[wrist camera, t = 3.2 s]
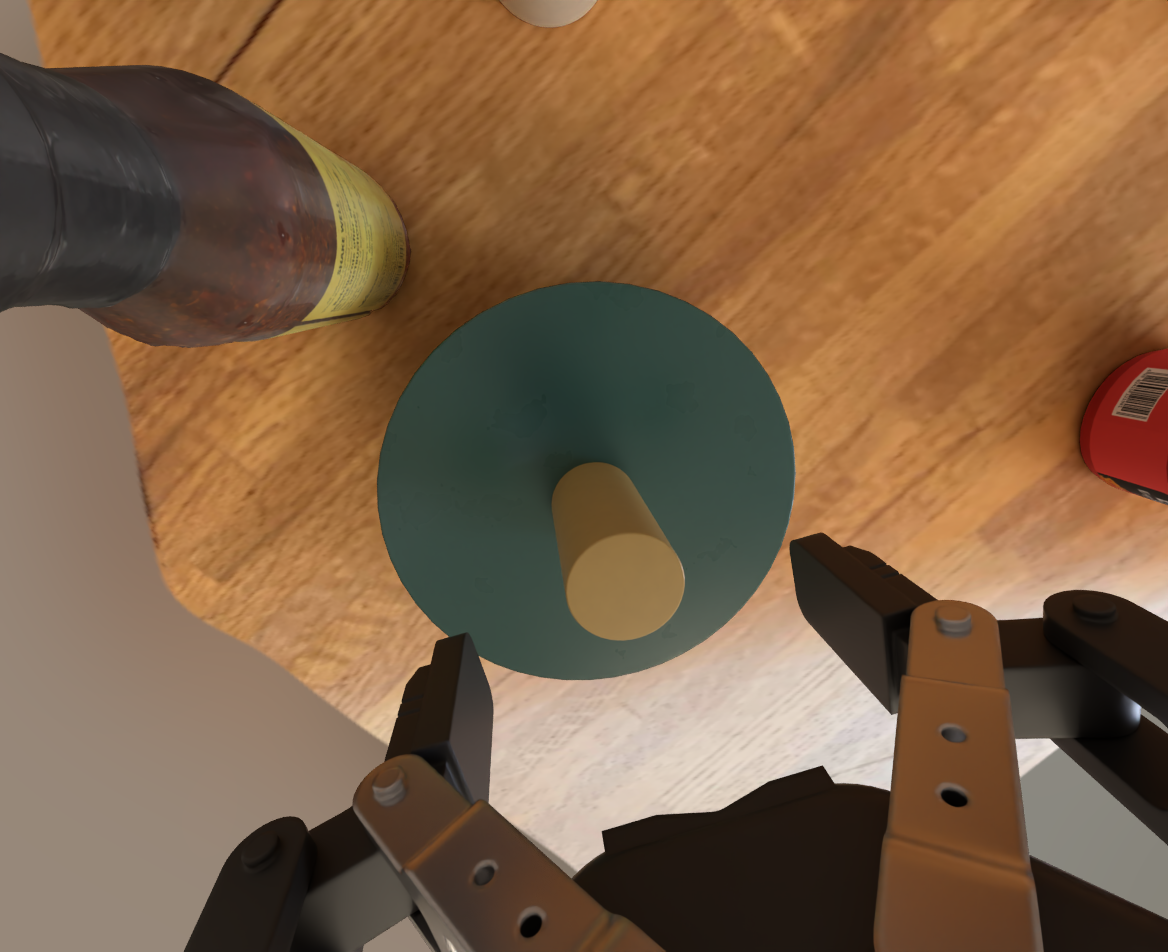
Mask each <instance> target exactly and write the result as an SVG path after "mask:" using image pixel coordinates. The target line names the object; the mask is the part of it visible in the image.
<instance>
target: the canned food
mask: <svg viewBox="0 0 1168 952" xmlns="http://www.w3.org/2000/svg"><path fill="white" fill-rule="evenodd" d="M1080 446H1081V453H1082V456H1083V459H1084V461H1085V463H1086V465H1087V466H1088V468H1089V469H1090V471H1091V472H1093V473H1094V474H1095V475H1096V476H1098V477H1099V478H1100V479H1102V480H1103V481H1105V482H1106V483H1107V484H1109V485H1111V486H1113V487H1115V488H1118V489H1120V490H1123V491H1126V492H1129V493H1132V494H1136V495H1139V496H1142V497H1145V498H1148V499H1151V500H1154V501H1157V502H1160V503H1163V504H1166V505H1168V348H1167V349H1162V350H1157V351H1152V352H1148V353H1145V354H1141V355H1139V356H1137V357H1135V358H1133V359H1130V360H1128V361H1127V362H1126V363H1124V364H1123V365H1121V366H1120V367H1118V368H1117V369H1116V370H1115V371H1114V372H1113V373H1112V374H1111V375H1110V376H1108V377H1107V378H1106V379H1105V381H1104V382H1103V383H1102V384H1101V386H1100V387H1099V388H1098V389H1097V391H1096V393H1095V394H1094V396H1093V398H1092V399H1091V401H1090V403H1089V405H1088V407H1087V410H1086V412H1085V414H1084V418H1083V422H1082V426H1081V432H1080Z"/></svg>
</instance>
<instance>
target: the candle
mask: <svg viewBox="0 0 1168 952" xmlns="http://www.w3.org/2000/svg"><path fill="white" fill-rule="evenodd" d="M499 1H500V2H501V3H502V4H503V5H504V6H505V7H506V8H507V9H508V10H509V11H510V12H511V13H512V14H513V15H515V16H516V17H518V18H519V19H521V20H523V21H525V22H527V23H529V24H532V25H535V26H540V27H560V26H564V25H567V24H570V23H572V22H574V21H576V20H578V19H580V18H581V17H582V16H584V15H585V14H586V13H587V12H588V11H589V10H590V9H591V8H592V7H593V6H594V4H595V3H596V2H597V0H499Z"/></svg>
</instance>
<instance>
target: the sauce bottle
mask: <svg viewBox="0 0 1168 952" xmlns="http://www.w3.org/2000/svg"><path fill="white" fill-rule="evenodd" d="M410 254H411V249H410V246H409V239H408V236H407V231H406V228H405V225H404V222H403V219H402V216H401V214H400V212H399V210H398V208H397V206H396V204H395V202H394V201H393V200H392V199H391V198H390V197H389V196H388V195H387V193H386V192H385V191H384V190H383V189H382V187H381V186H380V185H379V184H378V183H377V182H376V181H375V180H374V179H373V178H371V177H370V176H369V175H368V174H366V173H365V172H363V171H362V170H361V169H359V168H358V167H356V166H355V165H353V164H351V163H350V162H348V161H347V160H345V159H343V158H342V157H340V156H338V155H337V154H335V153H333V152H332V151H330V150H328V149H327V148H325V147H323V146H322V145H320V144H319V143H317V142H316V141H314V140H313V139H311V138H309V137H308V136H306V135H305V134H303V133H301V132H300V131H298V130H296V129H295V128H293V127H291V126H290V125H288V124H287V123H285V122H283V121H282V120H280V119H279V118H277V117H275V116H274V115H272V114H270V113H269V112H267V111H266V110H264V109H263V108H261V107H260V106H258V105H256V104H255V103H253V102H251V101H249V100H247V99H246V98H244V97H242V96H240V95H239V94H237V93H235V92H234V91H232V90H230V89H228V88H226V87H224V86H222V85H219V84H217V83H215V82H213V81H211V80H209V79H206V78H203V77H200V76H197V75H195V74H192V73H189V72H186V71H182V70H177V69H172V68H167V67H162V66H151V65H130V66H99V67H73V68H42V67H39V66H35V65H31V64H27V63H24V62H20V61H18V60H16V59H13V58H11V57H9V56H7V55H4V54H2V53H0V312H2V311H4V310H7V309H9V308H12V307H26V306H42V305H59V306H64V307H68V308H78V309H80V310H81V311H83V312H84V313H86V314H88V315H89V316H91V317H92V318H94V319H95V320H97V321H98V322H100V323H101V324H103V325H104V326H106V327H107V328H110V329H112V330H114V331H116V332H118V333H120V334H123V335H126V336H129V337H131V338H133V339H135V340H137V341H140V342H143V343H146V344H149V345H151V346H162V345H166V346H179V347H182V348H183V347H187V348H191V347H203V346H213V345H221V344H224V343H232V342H234V341H235V342H248V341H258V340H264V339H269V338H273V337H278V336H283V335H287V334H292V333H297V332H301V331H306V330H310V329H314V328H319V327H323V326H328V325H332V324H336V323H341V322H345V321H350V320H355V319H359V318H362V317H365V316H367V315H369V314H370V313H371V311H372V310H377V309H380V308H382V307H384V306H385V305H386V304H387V303H388V302H389V301H390V300H391V299H392V298H393V297H394V296H395V295H396V293H397V291H398V290H399V288H400V287H401V286H402V283H403V279H404V277H405V274H406V271H407V270H408V265H409V263H410Z"/></svg>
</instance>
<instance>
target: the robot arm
mask: <svg viewBox="0 0 1168 952" xmlns="http://www.w3.org/2000/svg"><path fill="white" fill-rule="evenodd" d="M790 556H791V563H792V569H793V576H794V583H795V590H796V596H797V600H798V604H799V607H800V609H801V611H802V613H803V615H804V617H805V619H806V620H807V621H808V623H809V624H810V625H811V626H812V627H813V628H814V629H815V630H816V631H817V633H818V634H819V635H820V636H821V637H822V638H823V639H824V640H825V641H826V643H827V644H828V645H829V646H830V647H831V648H832V649H833V650H834V651H835V653H836V654H837V655H838V656H839V657H840V658H841V659H842V660H843V661H844V663H845V664H846V665H847V666H848V667H849V668H850V669H851V670H852V671H853V673H854V674H855V675H856V676H857V677H858V678H859V679H860V680H861V681H862V683H863V684H864V685H865V686H866V687H867V688H868V689H869V690H870V691H871V693H872V694H873V695H874V696H875V697H876V698H877V699H878V700H879V701H880V703H881V704H882V705H883V706H884V707H885V708H886V709H887V710H888V711H889V713H890V714H891V715H892V714H896V713H898V716H897V727H896V737H895V748H894V759H893V770H892V781H891V791H888V790H884V789H880V788H876V787H872V786H866V785H859V784H846V783H838V784H834V782H833V780H832V779H831V777H830V776H829V774H828V773H827V771H826V770H825V768H824V767H823V766H819V767H816V768H813V769H809V770H806V771H803V772H799V773H796V774H793V775H789V776H786V777H782V778H779V779H776V780H772V781H769V782H767V783H766V784H764V785H762V786H761V787H759V788H757V789H756V790H754V791H752V792H750V793H749V794H747V795H745V796H744V797H742V798H740V799H739V800H737V801H735V802H734V803H732V804H730V805H729V806H727V807H725V808H724V809H721V810H719V811H716V812H703V813H684V814H666V815H655V816H651V817H648V818H645V819H641V820H638V821H635V822H631V823H628V824H625V825H621V826H618V827H615V828H611V829H608V830H604V831H602V836H603V842H604V848H605V852H604V853H602V854H600V855H599V856H597V857H596V858H594V859H593V860H592V861H590V862H589V863H588V864H586V865H585V866H584V867H583V868H582V869H581V870H580V871H579V872H578V873H577V874H576V875H574V876H573V878H572V879H571V878H570V877H569V876H568V875H567V874H566V873H565V872H563V871H562V870H561V869H560V868H559V867H558V866H557V865H556V864H555V863H553V862H552V861H551V860H550V859H549V858H548V857H547V856H546V855H545V854H543V852H541V851H540V850H539V849H538V848H537V847H536V846H535V845H534V844H533V843H532V842H530V841H529V840H528V839H527V838H526V837H525V836H524V835H523V834H522V833H521V832H519V831H518V830H517V829H516V828H515V827H514V826H513V825H512V824H511V823H509V822H508V821H507V820H506V819H505V818H504V817H503V816H502V815H501V814H500V813H498V812H497V811H496V810H495V809H494V808H493V807H492V806H491V805H490V804H488V802H489V784H490V766H491V747H492V729H493V700H492V695H491V690H490V687H489V683H488V681H487V678H486V675H485V673H484V670H483V667H482V664H481V662H480V659H479V656H478V654H477V651H476V648H475V646H474V643H473V640H472V638H471V636H470V634H469V633H468V632H466V633H462V634H459V635H455V636H452V637H448V638H445V639H441V640H438V641H437V642H436V644H435V648H434V652H433V656H432V661H431V664H430V665H427V666H423V667H420V668H418V670H417V671H416V672H415V674H414V675H413V676H412V678H411V679H410V680H409V681H408V683H407V684H406V687H405V691H404V694H403V698H402V704H401V705H400V708H399V712H398V718H397V719H396V722H395V726H394V729H393V733H392V736H391V740H390V743H389V747H388V750H387V754H386V757H385V761H384V763H382V764H380V765H379V766H377V767H376V768H375V769H374V770H372V771H371V772H370V773H369V774H368V775H367V776H366V777H365V778H364V779H363V781H362V782H361V783H360V785H359V786H358V788H357V790H356V792H355V794H354V798H353V806H351V807H350V808H349V809H347V810H345V811H344V812H342V813H340V814H339V815H337V816H335V817H333V818H331V819H329V820H328V821H326V822H324V823H322V824H320V825H319V826H317V827H315V828H313V829H311V830H310V831H308V829H307V827H306V825H305V824H304V822H303V821H302V820H301V819H300V818H297V817H291V816H289V817H283V818H279V819H276V820H274V821H271V822H269V823H267V824H265V825H263V826H262V827H260V828H258V829H257V830H255V831H254V832H253V833H251V834H250V835H249V836H248V837H247V838H245V839H244V840H243V841H242V842H241V843H240V844H239V845H238V846H237V847H236V848H235V849H234V851H233V852H232V853H231V855H230V856H229V857H228V859H227V860H226V862H225V864H224V866H223V867H222V870H221V872H220V874H219V876H218V878H217V881H216V883H215V885H214V887H213V889H212V892H211V894H210V896H209V898H208V900H207V902H206V904H205V907H204V909H203V911H202V913H201V915H200V918H199V920H198V922H197V924H196V926H195V928H194V930H193V933H192V935H191V937H190V939H189V941H188V943H187V946H186V948H185V950H184V952H362V951H363V946H364V944H366V943H367V942H369V941H370V940H372V939H374V938H375V937H377V936H378V935H380V934H381V933H383V932H384V931H386V930H388V929H389V928H390V927H392V926H394V925H395V924H397V923H398V922H400V921H402V920H403V919H405V918H406V917H408V918H409V920H410V921H411V922H412V924H413V925H414V927H415V928H416V930H417V931H418V932H419V934H420V935H421V937H422V938H423V940H424V941H425V943H426V944H427V946H428V947H429V949H430V950H431V951H432V952H1168V919H1166V918H1164V917H1161V916H1159V915H1157V914H1155V913H1153V912H1151V911H1148V910H1146V909H1144V908H1142V907H1140V906H1138V905H1136V904H1134V903H1131V902H1129V901H1127V900H1125V899H1123V898H1121V897H1119V896H1116V895H1114V894H1112V893H1110V892H1108V891H1106V890H1104V889H1101V888H1099V887H1097V886H1095V885H1093V884H1091V883H1089V882H1086V881H1084V880H1082V879H1080V878H1078V877H1076V876H1074V875H1072V874H1070V873H1067V872H1065V871H1063V870H1061V869H1059V868H1057V867H1055V866H1052V865H1050V864H1048V863H1046V862H1044V861H1042V860H1039V859H1038V858H1035V857H1033V856H1031V855H1029V849H1028V841H1027V833H1026V825H1025V817H1024V809H1023V801H1022V792H1021V784H1020V776H1019V768H1018V759H1017V751H1016V743H1015V739H1032V738H1050V739H1051V740H1052V741H1053V742H1054V743H1055V744H1056V745H1057V746H1058V747H1060V748H1061V749H1062V750H1063V751H1064V752H1065V753H1066V754H1067V755H1069V756H1070V757H1071V758H1072V759H1073V760H1074V761H1075V762H1076V763H1077V764H1078V765H1079V766H1081V767H1082V768H1083V769H1084V770H1085V771H1086V772H1087V773H1088V774H1089V775H1091V776H1092V777H1093V778H1094V779H1095V780H1096V781H1097V782H1098V783H1099V784H1100V785H1102V786H1103V787H1104V788H1105V789H1106V790H1107V791H1108V792H1109V793H1111V794H1112V795H1113V796H1114V797H1115V798H1116V799H1117V800H1118V801H1119V802H1120V803H1122V804H1123V805H1124V806H1125V807H1126V808H1127V809H1128V810H1129V811H1130V812H1131V813H1133V814H1134V815H1135V816H1136V817H1137V818H1138V819H1139V820H1141V822H1143V823H1144V824H1145V825H1146V826H1147V827H1148V828H1149V829H1150V830H1151V831H1152V832H1154V833H1155V834H1156V835H1157V836H1158V837H1159V838H1160V839H1161V840H1163V841H1164V842H1165V843H1166V844H1167V845H1168V734H1167V733H1166V732H1165V731H1163V730H1162V729H1161V728H1159V727H1158V726H1157V725H1155V724H1154V723H1152V722H1151V721H1149V720H1148V719H1147V718H1145V717H1144V716H1143V715H1141V707H1142V708H1144V709H1145V710H1147V711H1148V712H1149V713H1151V714H1152V715H1153V716H1155V717H1156V718H1158V719H1159V720H1160V721H1161V722H1162V723H1163V724H1164V725H1165V726H1166V727H1167V728H1168V621H1166V620H1164V619H1162V618H1160V617H1158V616H1157V615H1155V614H1153V613H1151V612H1149V611H1147V610H1145V609H1144V608H1142V607H1140V606H1138V605H1136V604H1134V603H1132V602H1130V601H1128V600H1126V599H1124V598H1121V597H1118V596H1115V595H1112V594H1108V593H1103V592H1098V591H1089V590H1071V591H1063V592H1059V593H1056V594H1053V595H1051V596H1049V597H1048V598H1047V599H1046V600H1045V602H1044V605H1043V618H1032V619H1016V620H996V619H995V617H994V616H993V615H992V614H991V613H990V612H988V611H987V610H985V609H983V608H981V607H979V606H977V605H974V604H971V603H967V602H962V601H955V600H937V599H936V598H934V597H933V596H931V595H930V594H929V593H927V592H926V591H924V590H923V589H922V588H920V587H919V586H917V585H916V584H915V583H913V582H912V581H910V580H909V579H908V578H906V577H905V576H903V575H902V574H899V573H898V571H896V570H895V569H894V568H892V567H891V566H890V565H886V563H885V562H884V561H883V560H881V559H880V558H878V557H877V556H876V555H874V554H873V553H871V552H869V551H865V550H862V549H859V548H856V547H853V546H847V547H841V546H840V545H839V544H837V543H836V542H835V541H833V540H832V539H831V538H830V537H828V536H827V535H826V534H824V533H817V534H813V535H810V536H806V537H803V538H799V539H796V540H792V541H791V542H790Z"/></svg>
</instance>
